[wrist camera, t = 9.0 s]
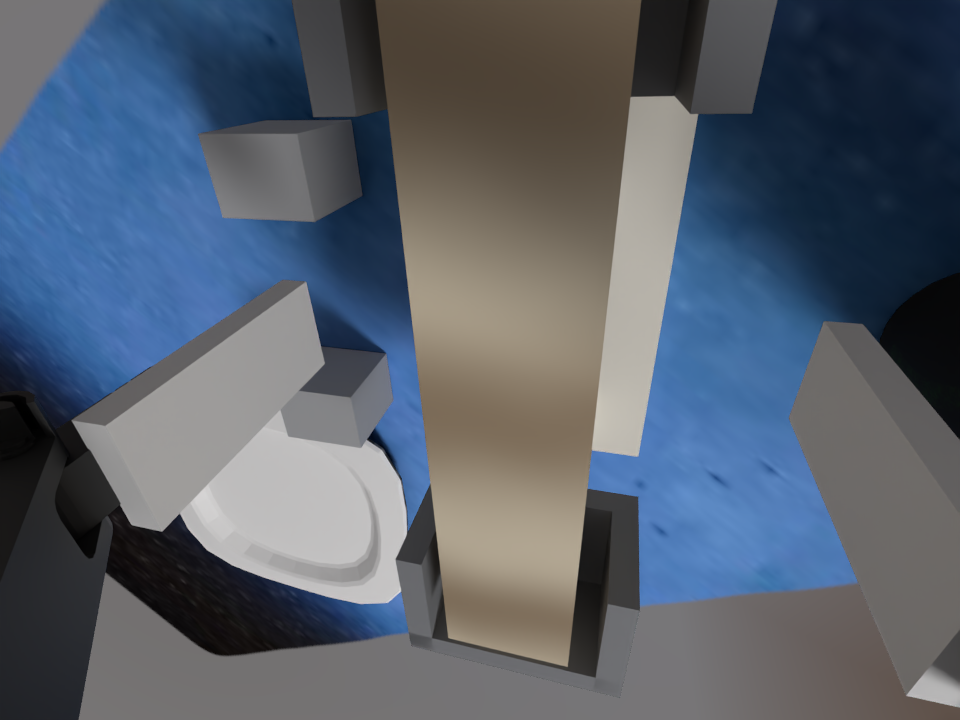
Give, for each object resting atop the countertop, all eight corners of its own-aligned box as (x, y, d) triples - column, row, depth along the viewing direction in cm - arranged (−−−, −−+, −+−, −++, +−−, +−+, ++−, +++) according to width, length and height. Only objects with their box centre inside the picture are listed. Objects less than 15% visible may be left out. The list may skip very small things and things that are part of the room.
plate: (144, 356, 32) (121, 371, 30) (416, 419, 29) (404, 439, 27) (207, 541, 41) (192, 558, 40) (414, 602, 38) (406, 623, 37)
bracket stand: (481, 423, 27) (394, 641, 17) (462, -80, 16) (197, -279, 6) (637, 445, 25) (640, 703, 15) (731, -107, 14) (951, -448, 4)
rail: (578, 561, 17) (567, 666, 14) (478, 542, 18) (448, 638, 15) (648, -81, 9) (657, -149, 6) (447, -63, 9) (362, -114, 6)
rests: (327, 391, 29) (288, 436, 25) (265, 120, 21) (197, 133, 18) (393, 400, 28) (361, 448, 24) (351, 119, 20) (296, 133, 17)
